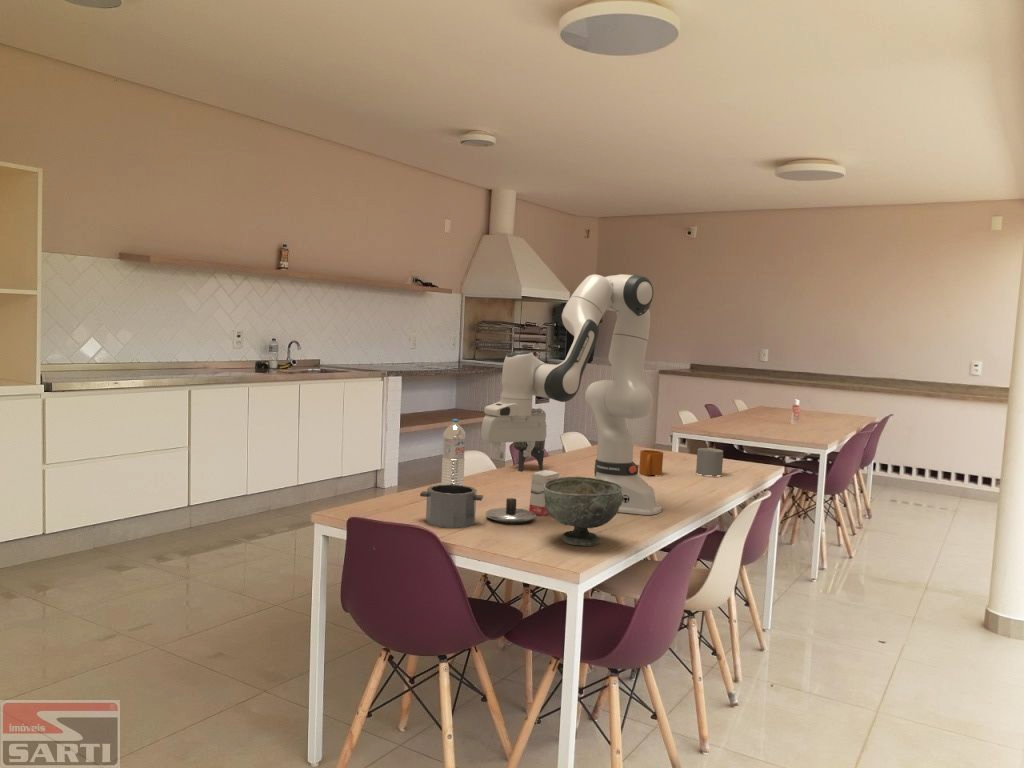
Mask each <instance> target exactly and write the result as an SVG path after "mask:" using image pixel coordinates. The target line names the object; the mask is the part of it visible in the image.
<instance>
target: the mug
mask: <svg viewBox="0 0 1024 768" xmlns="http://www.w3.org/2000/svg"><path fill="white" fill-rule="evenodd" d="M639 454H640V455H639V468H638V474H639V473H640V474H639V475H642V474H644V475H643V476H647V475H648V476H647V477H650V476H649V475H661V474H663V464H664V463H663V462H664V452H663V451H660V450H653V449H652V450H651V449H641V450H640V453H639ZM661 476H662V475H661Z"/></svg>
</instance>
